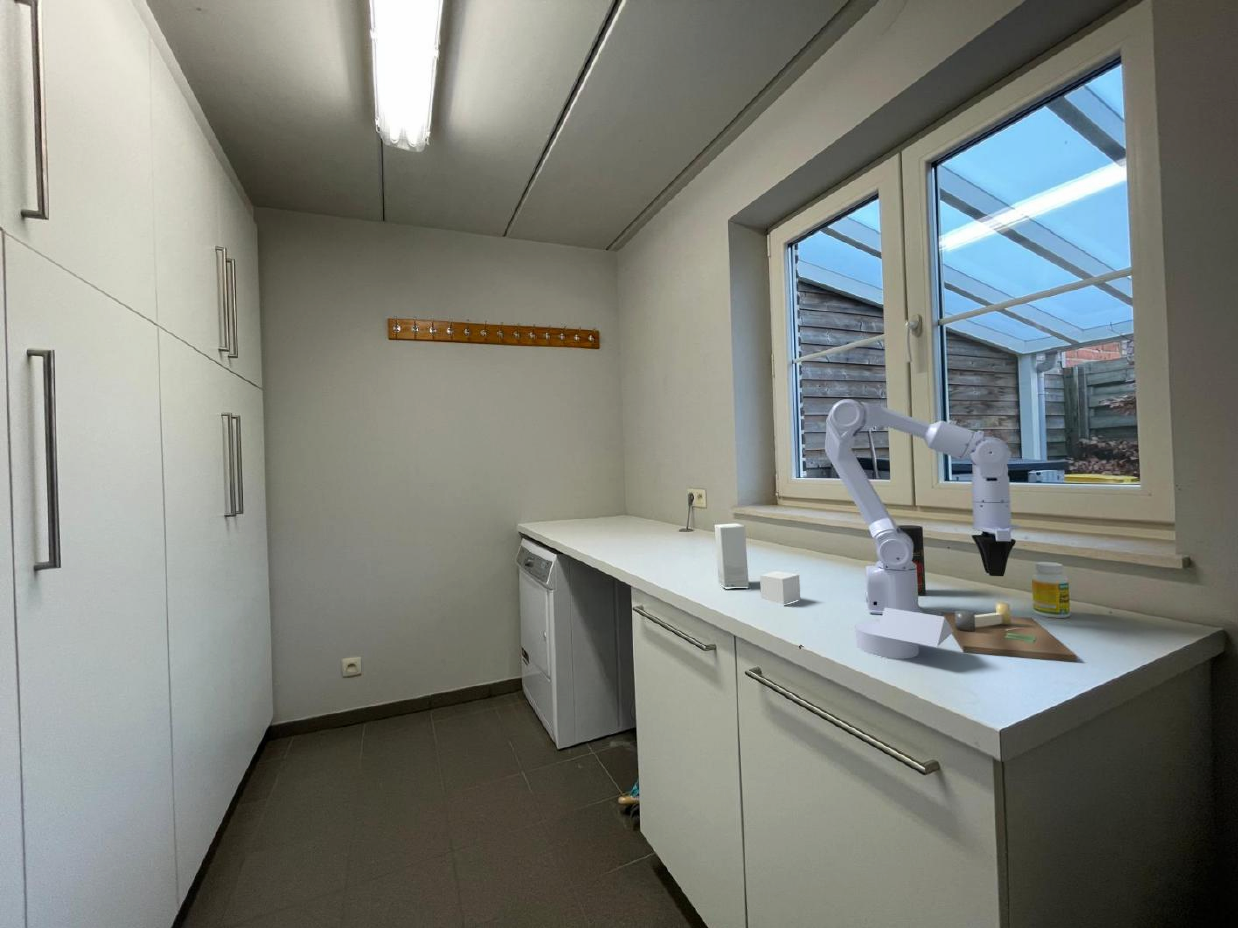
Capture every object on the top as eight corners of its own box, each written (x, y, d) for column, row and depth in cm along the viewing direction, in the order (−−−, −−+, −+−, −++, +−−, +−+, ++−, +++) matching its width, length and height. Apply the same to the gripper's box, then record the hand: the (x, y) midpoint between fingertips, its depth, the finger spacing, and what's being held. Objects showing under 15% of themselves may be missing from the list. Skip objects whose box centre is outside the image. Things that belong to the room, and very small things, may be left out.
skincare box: (749, 589, 126) (746, 526, 127) (722, 590, 127) (719, 527, 127) (741, 581, 135) (738, 522, 135) (716, 582, 135) (713, 523, 135)
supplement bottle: (1039, 608, 101) (1037, 559, 101) (1074, 614, 96) (1072, 563, 96) (1028, 614, 98) (1026, 563, 98) (1064, 620, 93) (1062, 567, 93)
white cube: (761, 601, 115) (759, 574, 115) (777, 596, 119) (776, 570, 119) (783, 606, 110) (782, 578, 110) (800, 601, 114) (799, 574, 114)
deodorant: (926, 590, 118) (923, 525, 118) (925, 596, 113) (922, 528, 113) (896, 588, 121) (893, 524, 121) (894, 594, 116) (891, 528, 116)
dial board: (963, 652, 81) (963, 645, 81) (941, 617, 98) (941, 611, 98) (1076, 661, 75) (1076, 654, 75) (1031, 623, 93) (1031, 617, 93)
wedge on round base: (954, 652, 81) (868, 635, 90) (952, 610, 81) (866, 597, 90) (938, 670, 75) (847, 650, 84) (935, 624, 75) (845, 608, 84)
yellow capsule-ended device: (965, 631, 87) (964, 611, 87) (951, 626, 89) (950, 607, 89) (1016, 624, 89) (1015, 605, 89) (1000, 620, 91) (1000, 601, 91)
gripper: (1030, 504, 87) (1034, 584, 87) (1005, 498, 101) (1008, 567, 101) (981, 505, 90) (985, 582, 90) (962, 498, 104) (966, 566, 103)
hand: (994, 574), depth 96 cm, fingers closed
